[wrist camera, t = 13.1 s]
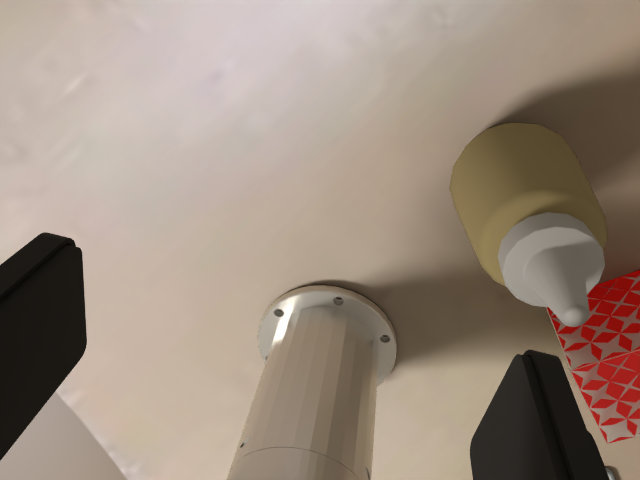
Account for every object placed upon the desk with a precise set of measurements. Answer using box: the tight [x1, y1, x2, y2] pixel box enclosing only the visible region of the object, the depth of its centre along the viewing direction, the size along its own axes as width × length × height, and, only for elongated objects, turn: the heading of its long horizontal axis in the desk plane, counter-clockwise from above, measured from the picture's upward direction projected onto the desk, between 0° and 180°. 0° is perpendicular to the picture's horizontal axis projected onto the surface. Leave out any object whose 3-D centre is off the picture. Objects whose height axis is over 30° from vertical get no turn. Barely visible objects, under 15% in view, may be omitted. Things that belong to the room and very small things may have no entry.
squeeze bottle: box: [450, 123, 608, 327], centre depth 29 cm, size 8×8×18 cm
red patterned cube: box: [545, 270, 640, 444], centre depth 39 cm, size 8×8×8 cm
